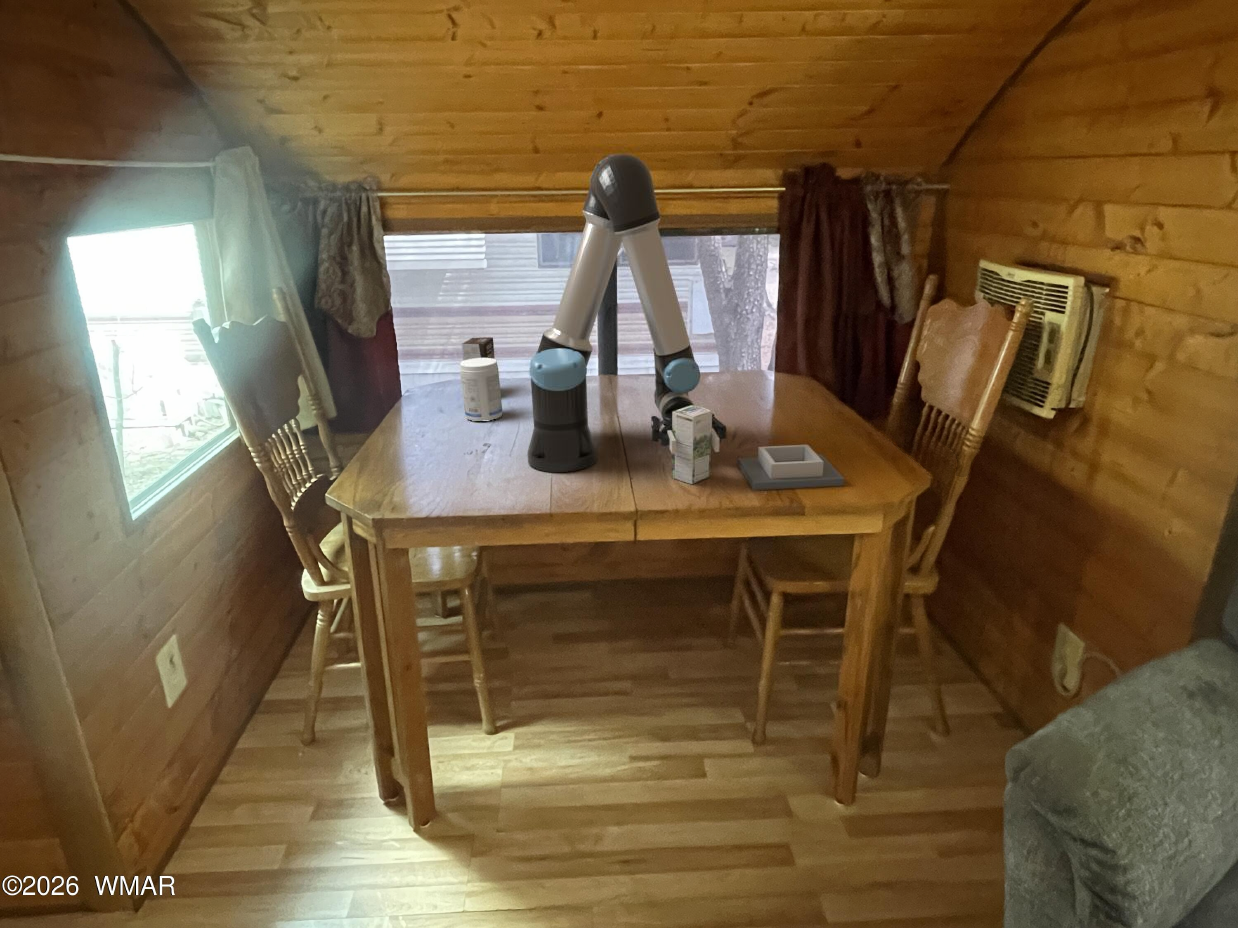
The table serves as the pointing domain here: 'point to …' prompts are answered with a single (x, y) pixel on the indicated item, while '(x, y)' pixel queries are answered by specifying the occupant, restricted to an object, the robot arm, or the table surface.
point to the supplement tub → (481, 389)
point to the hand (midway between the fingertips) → (695, 446)
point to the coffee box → (478, 348)
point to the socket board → (789, 468)
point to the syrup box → (692, 444)
